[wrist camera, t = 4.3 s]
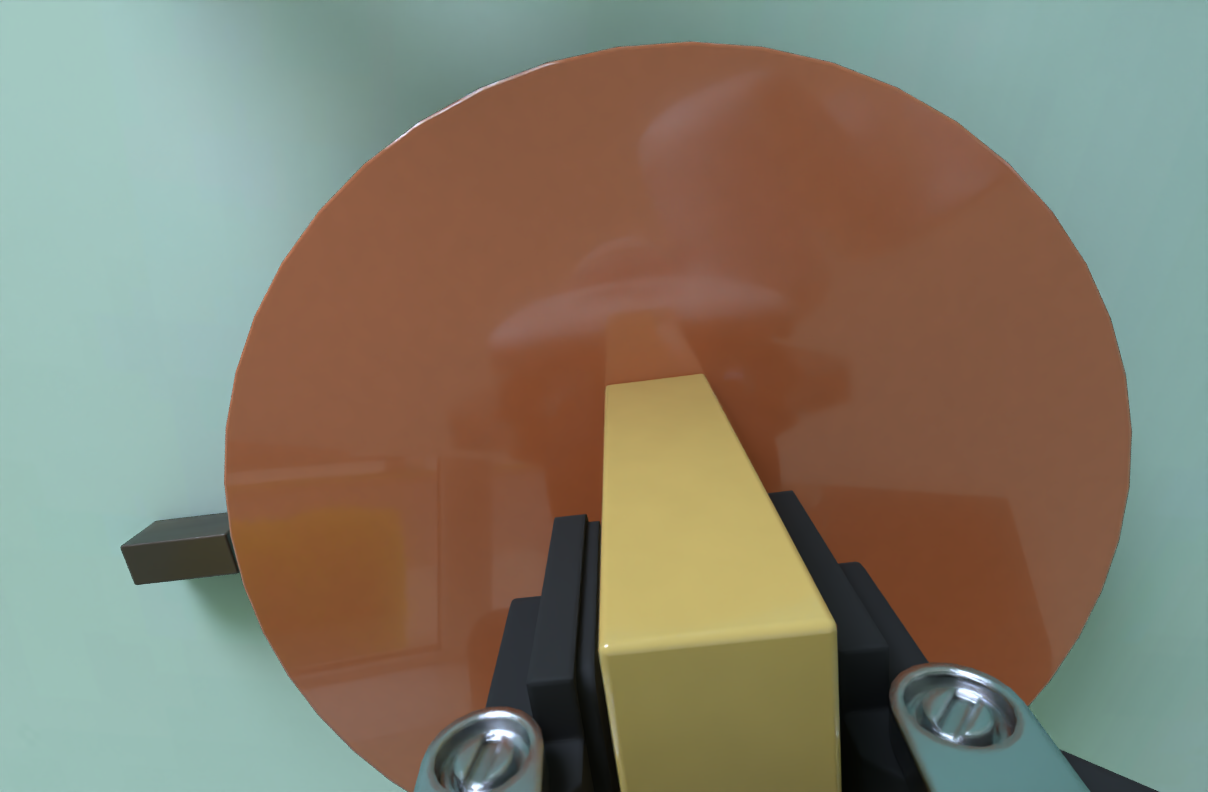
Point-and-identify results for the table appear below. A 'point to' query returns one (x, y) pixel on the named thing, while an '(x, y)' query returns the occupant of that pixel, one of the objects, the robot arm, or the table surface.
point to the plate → (659, 272)
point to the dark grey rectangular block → (181, 550)
